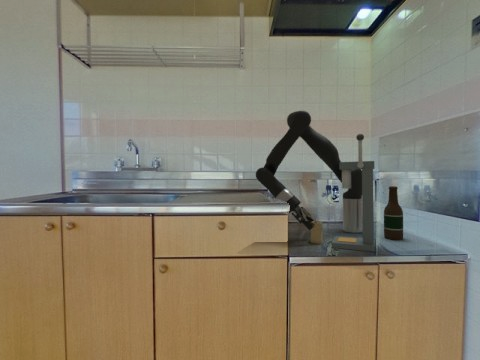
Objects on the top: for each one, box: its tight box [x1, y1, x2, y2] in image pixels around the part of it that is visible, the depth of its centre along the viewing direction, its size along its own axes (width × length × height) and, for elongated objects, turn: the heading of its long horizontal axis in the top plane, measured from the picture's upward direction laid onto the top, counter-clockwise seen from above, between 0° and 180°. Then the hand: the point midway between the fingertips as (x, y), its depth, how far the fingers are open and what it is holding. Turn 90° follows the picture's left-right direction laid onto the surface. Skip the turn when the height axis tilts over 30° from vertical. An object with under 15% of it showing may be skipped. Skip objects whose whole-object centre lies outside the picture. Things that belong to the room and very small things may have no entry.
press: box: [331, 133, 376, 253], centre depth 111 cm, size 13×16×46 cm
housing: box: [310, 218, 324, 245], centre depth 118 cm, size 4×4×10 cm
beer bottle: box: [383, 185, 404, 241], centre depth 123 cm, size 8×8×24 cm
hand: (313, 226), depth 118 cm, fingers open, 8 cm apart
